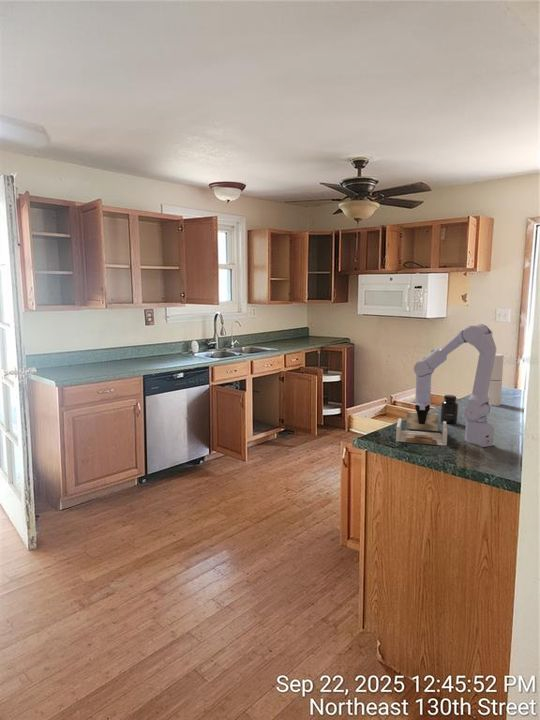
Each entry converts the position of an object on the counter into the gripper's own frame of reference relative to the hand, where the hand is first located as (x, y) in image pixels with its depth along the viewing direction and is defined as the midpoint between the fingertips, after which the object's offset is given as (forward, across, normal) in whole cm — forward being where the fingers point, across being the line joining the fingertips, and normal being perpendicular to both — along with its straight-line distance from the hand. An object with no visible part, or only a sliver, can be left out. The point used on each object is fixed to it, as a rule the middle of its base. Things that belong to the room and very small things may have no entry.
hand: (421, 423), depth 195 cm
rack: (+3, +12, 0) cm, 12 cm away
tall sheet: (+3, 0, 0) cm, 3 cm away
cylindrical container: (+3, -59, +33) cm, 68 cm away
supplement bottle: (+3, -15, +11) cm, 19 cm away
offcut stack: (+2, +17, 0) cm, 17 cm away
